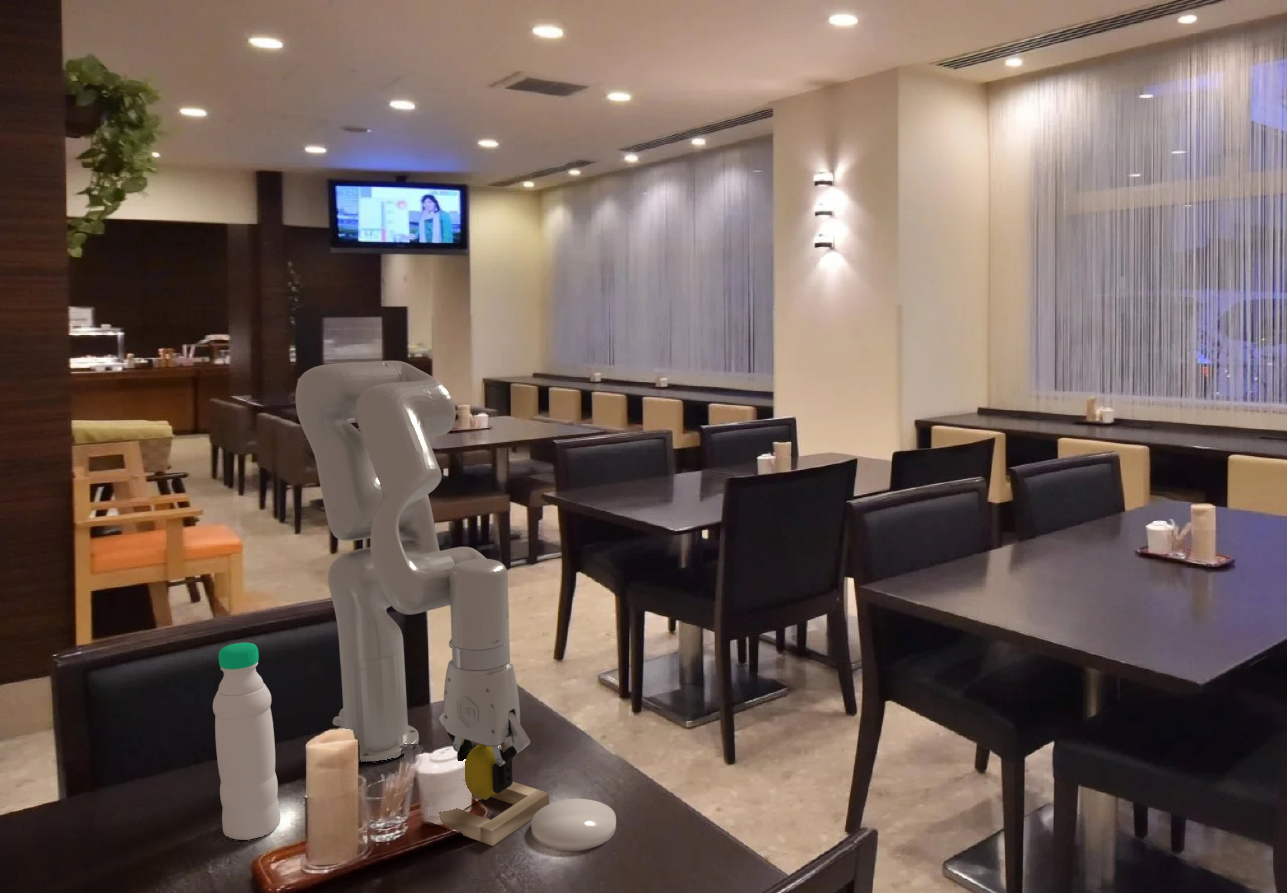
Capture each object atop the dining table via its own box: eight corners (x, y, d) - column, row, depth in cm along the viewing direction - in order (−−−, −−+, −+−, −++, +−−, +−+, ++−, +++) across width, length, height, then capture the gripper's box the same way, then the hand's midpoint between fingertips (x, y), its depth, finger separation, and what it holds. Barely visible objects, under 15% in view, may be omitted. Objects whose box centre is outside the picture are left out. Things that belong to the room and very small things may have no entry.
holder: (427, 822, 130) (426, 807, 129) (486, 786, 139) (485, 773, 139) (492, 846, 123) (492, 831, 123) (549, 807, 133) (548, 793, 133)
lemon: (498, 811, 128) (496, 754, 127) (458, 807, 129) (456, 750, 128) (512, 791, 134) (510, 735, 132) (473, 787, 135) (472, 732, 134)
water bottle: (292, 822, 130) (279, 642, 127) (248, 848, 124) (233, 659, 121) (255, 811, 133) (241, 634, 130) (211, 835, 127) (195, 651, 124)
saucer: (514, 836, 126) (513, 827, 125) (566, 799, 135) (565, 791, 135) (582, 860, 120) (582, 851, 120) (632, 820, 129) (632, 812, 129)
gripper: (413, 650, 130) (419, 777, 133) (512, 676, 121) (516, 812, 123) (453, 634, 136) (457, 756, 139) (550, 657, 127) (552, 788, 130)
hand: (485, 781), depth 131 cm, fingers closed on lemon, 5 cm apart
